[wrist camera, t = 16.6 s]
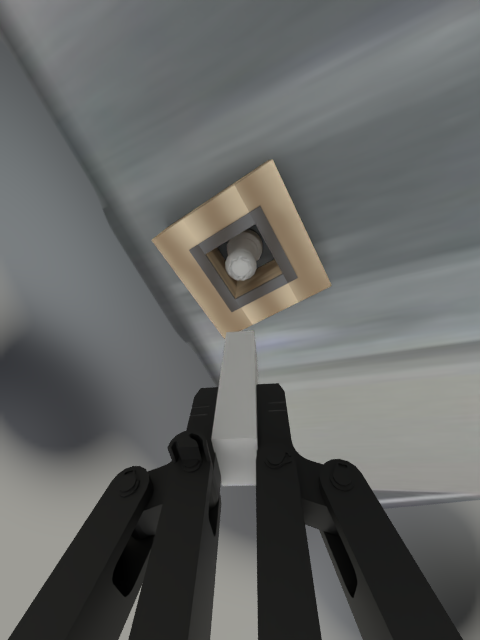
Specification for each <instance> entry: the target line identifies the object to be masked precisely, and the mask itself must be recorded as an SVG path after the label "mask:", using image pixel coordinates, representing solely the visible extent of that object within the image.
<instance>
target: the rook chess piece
mask: <svg viewBox="0 0 480 640" xmlns="http://www.w3.org/2000/svg"><path fill="white" fill-rule="evenodd" d="M262 251H263V243H262V241H261V238H260V236H259V235H258V234H257V233H256V232H254V231H252V230H249V229H246V230H245V231H243V232H241V233H240V234H238V235H236V236H235V237H233V238H231V239H230V240H228V242H227V254H228V257H227V259H226V262H225V269H226V271H227V273H228V275H230V276H231V277H232V278H233V279H235V280H237V281H238V280H243V281H244V280H247V279H249V278H251V277H252V276H253V275H254V273H255V271H256V268H257V263H256V262H257V261H258V260H259V259H260V256H261V254H262Z"/></svg>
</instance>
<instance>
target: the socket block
mask: <svg viewBox="0 0 480 640" xmlns="http://www.w3.org/2000/svg"><path fill="white" fill-rule="evenodd" d="M255 224H256V226H257V228H258V230H259V231H260V233H261V235H262V237H263V239H264V240H265V242H266V244H267V246H268V248H269V250H270V251H271V253H272V255H273V257H274V260H272V261H270V262H268V263H267V264H265V265H263V266H261V267H259V268H257V269H256V271H255V273H254V275H253V276H252V277H251V278H249V279H247V280H244V281H243V280H238V281H237V280H235V279H233V278H232V277H231V276H230V275H228V273H227V271H226V269H225V262H226V261H225V259H224V258H223V256H222V255H221V253H220V251H219V250H218V248H217V247H218V246H220V245H222V244H223V243H225V242H227V241H228V240H230V239H231V238H233V237H235V236H236V235H238V234H240V233H241V232H243V231H245V230H246V229H248V228H250V227H251V226H253V225H255ZM152 241H153V243H154V244H155V245H156V247H157V248H158V249H159V251H160V252H161V253H162V255H163V256H164V258H165V259H166V260H167V262H168V263H169V264H170V266H171V267H172V268H173V270H174V271H175V272H176V274H177V275H178V277H179V278H180V279H181V281H182V282H183V283H184V285H185V286H186V287H187V289H188V290H189V291H190V293H191V294H192V296H193V297H194V298H195V300H196V301H197V302H198V304H199V305H200V306H201V308H202V309H203V310H204V312H205V313H206V314H207V316H208V317H209V319H210V320H211V321H212V323H213V324H214V325H215V327H216V328H217V329H218V331H219V332H220V333H221V335H222V336H223V338H224V339H225V338H226V332H239V331H241V330H243V329H245V328H247V327H249V326H251V325H253V324H255V323H257V322H259V321H261V320H263V319H265V318H267V317H270V316H272V315H274V314H276V313H278V312H280V311H282V310H284V309H286V308H288V307H290V306H292V305H294V304H296V303H298V302H300V301H302V300H304V299H306V298H308V297H310V296H312V295H314V294H316V293H318V292H320V291H322V290H324V289H326V288H328V287H330V286H332V285H331V283H330V281H329V279H328V276H327V274H326V272H325V270H324V268H323V266H322V264H321V262H320V259H319V257H318V255H317V253H316V251H315V249H314V247H313V245H312V242H311V240H310V238H309V236H308V234H307V232H306V230H305V227H304V225H303V223H302V221H301V219H300V217H299V215H298V213H297V210H296V208H295V206H294V204H293V202H292V200H291V198H290V195H289V193H288V191H287V189H286V187H285V185H284V183H283V181H282V178H281V176H280V174H279V172H278V170H277V168H276V166H275V163H274V161H273V159H272V160H268V161H266V162H265V163H263V164H262V165H260V166H259V167H257V168H256V169H254V170H253V171H251V172H250V173H248V174H247V175H245V176H244V177H242V178H241V179H239V180H238V181H236V182H235V183H233V184H232V185H230V186H229V187H227V188H226V189H224V190H223V191H221V192H220V193H218V194H217V195H215V196H214V197H212V198H211V199H209V200H208V201H206V202H205V203H203V204H202V205H200V206H199V207H197V208H196V209H194V210H193V211H191V212H190V213H188V214H187V215H185V216H184V217H182V218H181V219H179V220H178V221H176V222H175V223H173V224H172V225H170V226H169V227H167V228H166V229H165V230H163V231H162V232H161V233H160V234H158V235H157V236H156V237H155V238H153V239H152Z"/></svg>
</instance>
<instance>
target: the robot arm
mask: <svg viewBox="0 0 480 640" xmlns="http://www.w3.org/2000/svg"><path fill="white" fill-rule="evenodd" d="M168 451H169V453H170V456H171V459H172V461H171V462H170V463H169V464H167V465H165V466H162V467H160V468H157V469H154V470H151V471H148V472H147V471H146V469H144V468H142V467H140V466H132V467H130V468H126V469H124V470H123V471H122V472H120V473H119V474H118V475H117V476H116V477H115V478H114V479H113V480H112V482H111V483H110V485H109V486H108V488H107V489H106V491H105V492H104V494H103V495H102V497H101V498H100V500H99V501H98V503H97V505H96V506H95V508H94V509H93V511H92V512H91V514H90V515H89V517H88V518H87V520H86V521H85V523H84V524H83V526H82V528H81V529H80V530H79V532H78V533H77V535H76V537H75V538H74V540H73V541H72V543H71V544H70V546H69V547H68V549H67V550H66V552H65V553H64V555H63V556H62V558H61V559H60V561H59V563H58V564H57V565H56V567H55V569H54V570H53V572H52V573H51V575H50V576H49V578H48V579H47V581H46V582H45V584H44V585H43V587H42V588H41V590H40V591H39V593H38V594H37V596H36V597H35V599H34V600H33V602H32V604H31V605H30V607H29V608H28V610H27V611H26V613H25V614H24V616H23V617H22V619H21V620H20V622H19V623H18V625H17V626H16V628H15V630H14V631H13V633H12V634H11V636H10V637H9V639H8V640H118V639H119V636H120V634H121V632H122V630H123V627H124V625H125V623H126V620H127V618H128V616H129V613H130V611H131V609H132V607H133V604H134V602H135V599H136V597H137V595H138V593H139V590H140V588H141V586H142V588H141V592H140V596H139V600H138V604H137V608H136V612H135V616H134V620H133V624H132V628H131V632H130V636H129V640H210V633H211V621H212V609H213V596H214V585H215V573H216V560H217V549H218V537H219V523H220V512H221V496H220V483H222V486H244V485H256V507H257V508H256V513H257V514H256V515H257V516H256V517H257V591H258V640H322V639H321V632H320V625H319V619H318V612H317V605H316V598H315V591H314V584H313V577H312V570H311V563H310V556H309V549H308V542H307V536H306V529H305V524H306V525H308V526H311V527H314V528H317V529H319V530H320V533H321V535H322V538H323V540H324V543H325V545H326V548H327V550H328V553H329V555H330V558H331V560H332V563H333V565H334V568H335V571H336V573H337V576H338V578H339V580H340V583H341V585H342V588H343V591H344V593H345V596H346V598H347V601H348V603H349V606H350V608H351V611H352V613H353V616H354V618H355V621H356V623H357V626H358V628H359V631H360V633H361V636H362V638H363V640H463V639H462V637H461V636H460V634H459V632H458V631H457V629H456V627H455V626H454V624H453V623H452V621H451V619H450V618H449V616H448V614H447V613H446V611H445V610H444V608H443V606H442V604H441V603H440V601H439V600H438V598H437V596H436V595H435V593H434V591H433V590H432V588H431V586H430V585H429V583H428V582H427V580H426V578H425V577H424V575H423V573H422V572H421V570H420V569H419V567H418V565H417V563H416V562H415V560H414V559H413V557H412V555H411V554H410V552H409V550H408V549H407V547H406V546H405V544H404V542H403V541H402V539H401V537H400V536H399V534H398V533H397V531H396V529H395V527H394V526H393V524H392V522H391V521H390V519H389V518H388V516H387V514H386V513H385V511H384V509H383V508H382V506H381V504H380V503H379V501H378V500H377V498H376V496H375V495H374V493H373V491H372V490H371V488H370V486H369V485H368V483H367V481H366V480H365V478H364V477H363V475H362V473H361V472H360V471H359V470H358V469H357V467H356V466H354V465H353V464H351V463H350V462H348V461H345V460H341V459H333V460H330V461H328V462H326V463H324V465H323V464H320V463H316V462H313V461H310V460H307V459H305V458H304V457H302V456H301V455H299V454H298V452H297V451H296V450H295V449H294V447H293V444H292V441H291V434H290V427H289V420H288V413H287V406H286V399H285V392H284V390H283V389H282V388H281V386H280V385H279V383H276V384H258V366H257V355H256V344H255V333H254V331H239V332H226V338H225V345H224V352H223V360H222V367H221V374H220V381H219V387H215V388H201V389H200V390H199V391H198V393H197V394H196V395H195V397H194V401H193V405H192V410H191V413H190V418H189V422H188V426H187V430H186V431H184V432H182V433H180V434H178V435H177V436H175V437H174V438H173V439H172V440H171V442H170V444H169V446H168ZM142 583H143V584H142Z"/></svg>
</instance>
